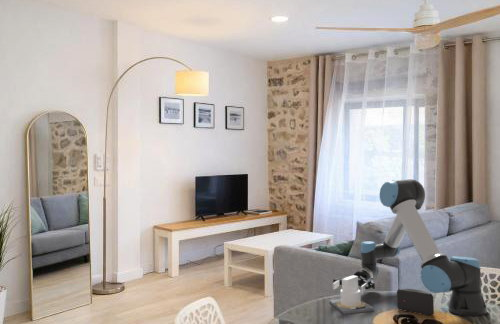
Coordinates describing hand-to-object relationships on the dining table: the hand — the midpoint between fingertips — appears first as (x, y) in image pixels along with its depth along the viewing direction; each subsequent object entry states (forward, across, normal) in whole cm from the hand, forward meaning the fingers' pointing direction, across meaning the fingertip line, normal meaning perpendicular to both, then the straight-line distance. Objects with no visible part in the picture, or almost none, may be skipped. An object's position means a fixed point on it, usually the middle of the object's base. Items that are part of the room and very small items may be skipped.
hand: (347, 288), depth 219 cm
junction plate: (-3, 0, -9) cm, 10 cm away
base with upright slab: (-4, 0, -8) cm, 9 cm away
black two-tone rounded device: (-6, -28, -10) cm, 30 cm away
